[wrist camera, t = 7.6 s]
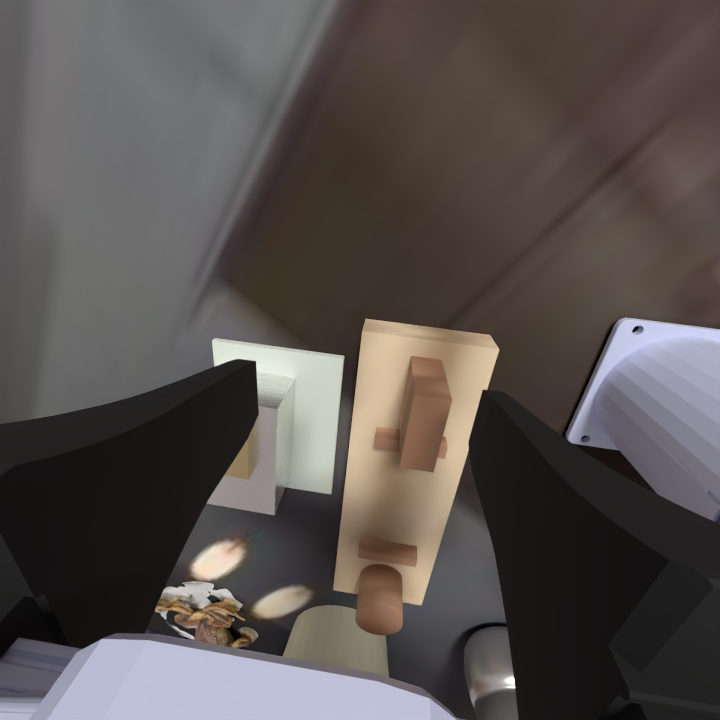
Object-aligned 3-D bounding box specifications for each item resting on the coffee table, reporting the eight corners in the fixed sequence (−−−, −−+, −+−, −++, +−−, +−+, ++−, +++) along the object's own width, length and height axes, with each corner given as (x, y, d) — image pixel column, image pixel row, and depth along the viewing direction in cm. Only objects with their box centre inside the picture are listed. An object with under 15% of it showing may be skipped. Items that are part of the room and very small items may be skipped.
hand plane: (490, 335, 19) (525, 388, 14) (420, 579, 29) (424, 667, 23) (365, 318, 20) (352, 364, 14) (337, 565, 29) (322, 649, 24)
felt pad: (344, 355, 21) (343, 358, 20) (332, 490, 26) (331, 494, 25) (215, 338, 21) (212, 340, 21) (226, 473, 26) (224, 477, 26)
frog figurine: (294, 637, 36) (283, 684, 32) (201, 650, 39) (182, 694, 35) (235, 566, 32) (215, 612, 28) (137, 587, 35) (108, 630, 31)
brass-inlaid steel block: (295, 377, 21) (272, 417, 17) (290, 474, 25) (270, 526, 21) (216, 364, 22) (176, 401, 18) (222, 463, 25) (190, 511, 21)
